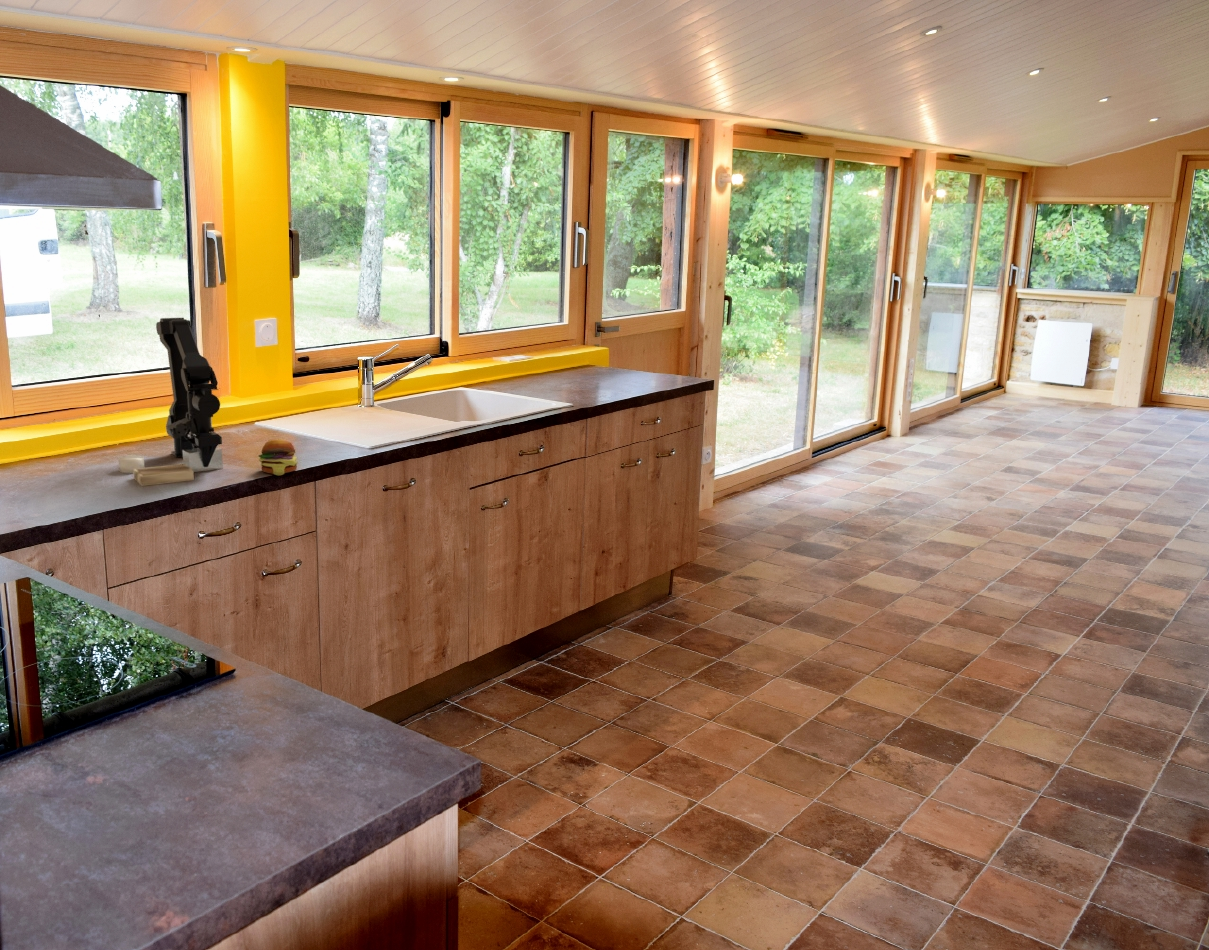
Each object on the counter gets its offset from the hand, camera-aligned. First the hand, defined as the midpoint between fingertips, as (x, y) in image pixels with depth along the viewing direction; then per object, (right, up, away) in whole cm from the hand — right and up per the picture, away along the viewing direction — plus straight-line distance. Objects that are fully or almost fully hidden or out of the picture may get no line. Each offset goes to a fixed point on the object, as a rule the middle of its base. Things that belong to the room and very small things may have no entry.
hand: (203, 464), depth 295 cm
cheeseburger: (+21, -2, 0) cm, 21 cm away
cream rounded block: (-18, -2, -4) cm, 18 cm away
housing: (0, -1, 0) cm, 1 cm away
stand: (-6, -4, -12) cm, 14 cm away
